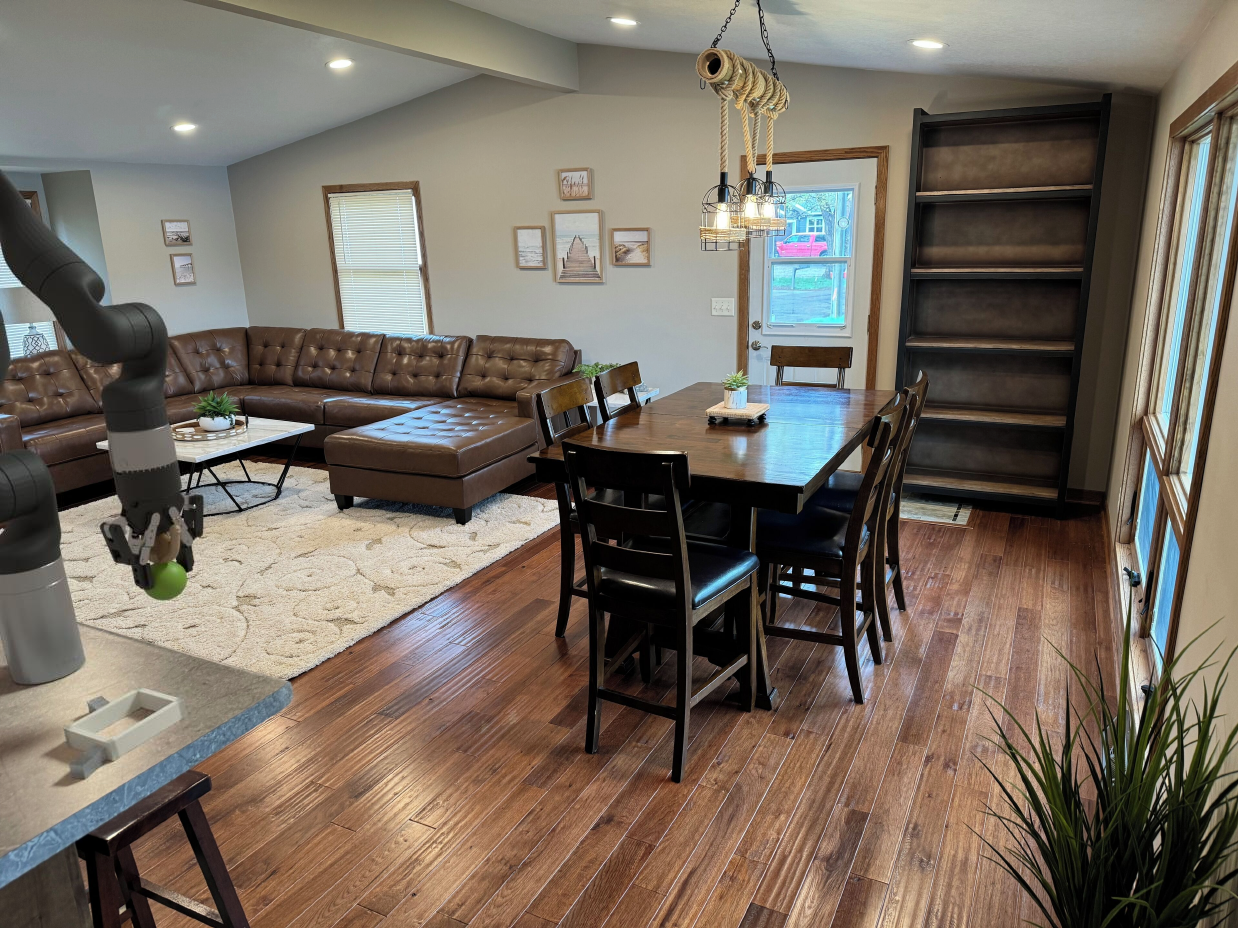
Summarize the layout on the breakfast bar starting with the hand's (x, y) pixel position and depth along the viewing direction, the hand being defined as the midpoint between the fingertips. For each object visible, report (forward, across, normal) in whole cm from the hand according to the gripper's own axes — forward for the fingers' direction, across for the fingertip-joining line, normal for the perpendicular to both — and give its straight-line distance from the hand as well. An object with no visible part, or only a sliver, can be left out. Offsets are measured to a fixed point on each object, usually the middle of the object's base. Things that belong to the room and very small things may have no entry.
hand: (166, 579), depth 115 cm
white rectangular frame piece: (+17, +12, -1) cm, 21 cm away
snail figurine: (+3, 0, 0) cm, 3 cm away
